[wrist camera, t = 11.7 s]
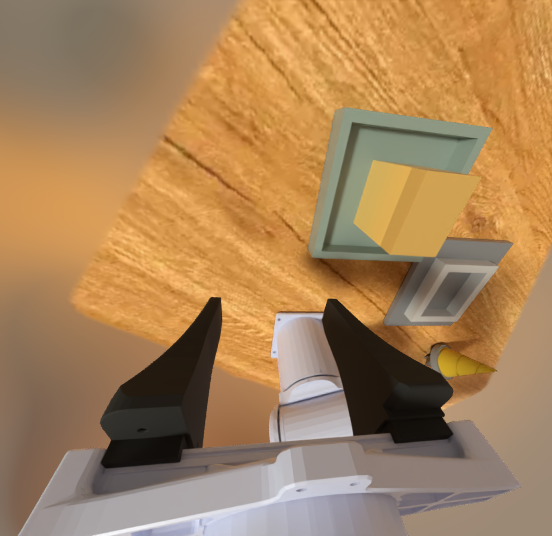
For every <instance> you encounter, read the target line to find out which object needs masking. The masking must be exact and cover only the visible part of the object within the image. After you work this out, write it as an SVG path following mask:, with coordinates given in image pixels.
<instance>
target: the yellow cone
mask: <svg viewBox="0 0 552 536" xmlns="http://www.w3.org/2000/svg"><path fill="white" fill-rule="evenodd" d="M424 358H425V359H426V364H425V365H426V366H431V367H432V369H433V370H435V371H437V372H439V373H441V375H442V376H443V377H444V378H445V379H452V378H453V377H454V376H463V375H471V374H476V373H477V374H480V373H489V372H494V371H497V370H495V369H493V368H491V367H489V366H486V365H484V364H482V363H480V362H478V361H475V360H473V359H471V358H469V357H467V356H464V355H462V354H460V353H458V352H456V351H453V350H452V349H451V348H450V347H449V346H447V345H442V344H436V345H435V346H434V347H433V348H432V350H431V354H430V355H429V356H426V357H424Z"/></svg>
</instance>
